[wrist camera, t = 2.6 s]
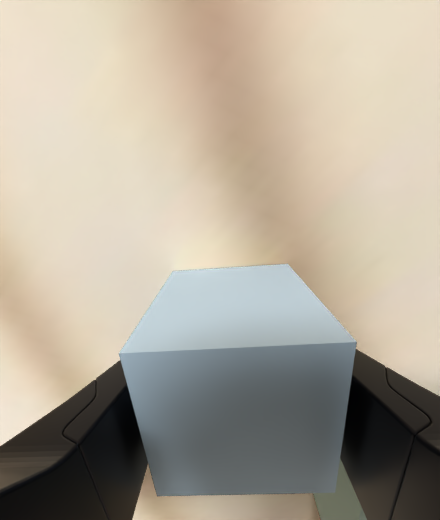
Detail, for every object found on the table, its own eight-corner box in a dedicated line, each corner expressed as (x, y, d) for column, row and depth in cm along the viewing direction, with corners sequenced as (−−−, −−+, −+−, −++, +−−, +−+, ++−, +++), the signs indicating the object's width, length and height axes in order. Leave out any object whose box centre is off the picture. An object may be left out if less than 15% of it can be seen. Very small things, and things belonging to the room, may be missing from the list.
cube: (287, 263, 9) (356, 342, 4) (285, 358, 11) (334, 492, 6) (172, 271, 9) (118, 353, 5) (186, 362, 11) (157, 496, 6)
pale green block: (483, 403, 12) (609, 505, 8) (451, 483, 14) (537, 594, 10) (318, 408, 12) (361, 508, 8) (310, 485, 14) (342, 593, 10)
